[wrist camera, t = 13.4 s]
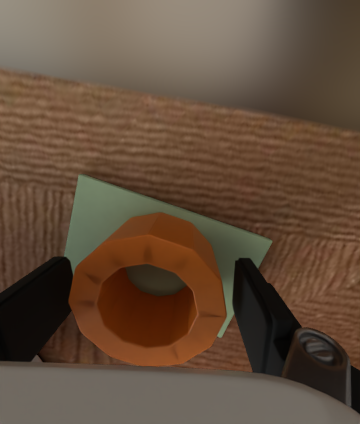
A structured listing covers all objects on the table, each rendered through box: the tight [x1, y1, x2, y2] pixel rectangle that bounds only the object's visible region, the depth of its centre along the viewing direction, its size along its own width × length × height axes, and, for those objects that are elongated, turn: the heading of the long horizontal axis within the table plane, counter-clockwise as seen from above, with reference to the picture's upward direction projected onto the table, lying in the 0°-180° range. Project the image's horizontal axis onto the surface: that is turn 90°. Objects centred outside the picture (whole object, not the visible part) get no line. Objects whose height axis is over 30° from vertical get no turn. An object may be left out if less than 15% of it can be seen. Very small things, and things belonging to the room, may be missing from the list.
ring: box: [68, 212, 227, 367], centre depth 9 cm, size 7×7×4 cm
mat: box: [64, 174, 272, 338], centre depth 11 cm, size 12×8×1 cm, turn 71°
